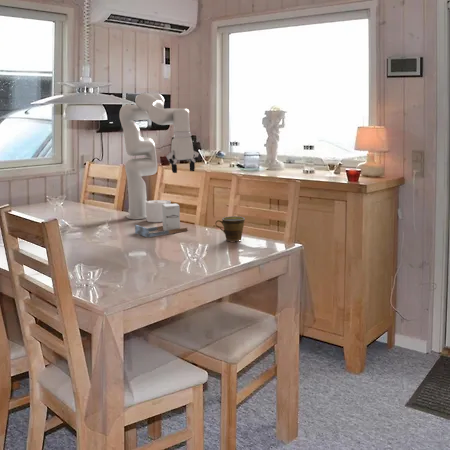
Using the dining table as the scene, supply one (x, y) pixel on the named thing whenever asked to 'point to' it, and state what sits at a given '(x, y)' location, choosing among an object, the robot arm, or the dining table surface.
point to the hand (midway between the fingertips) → (183, 171)
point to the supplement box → (171, 216)
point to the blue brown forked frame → (145, 231)
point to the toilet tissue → (155, 210)
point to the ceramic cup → (232, 227)
